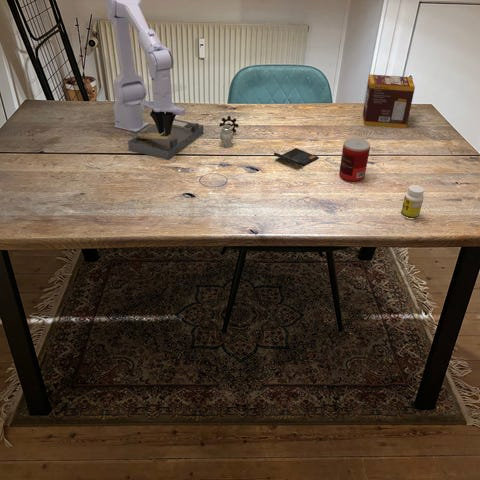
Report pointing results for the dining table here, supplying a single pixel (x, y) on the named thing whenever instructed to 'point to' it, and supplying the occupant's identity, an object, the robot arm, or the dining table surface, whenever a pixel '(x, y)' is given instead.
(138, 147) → the grey flat block
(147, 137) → the brass strap
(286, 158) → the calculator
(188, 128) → the steel strap
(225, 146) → the valve
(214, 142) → the dining table surface
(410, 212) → the supplement bottle
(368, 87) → the supplement box
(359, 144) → the canned food
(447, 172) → the dining table surface
